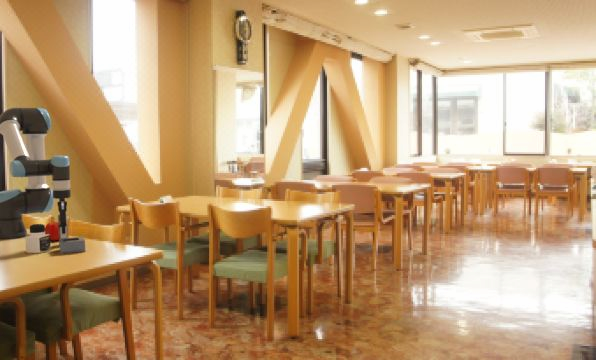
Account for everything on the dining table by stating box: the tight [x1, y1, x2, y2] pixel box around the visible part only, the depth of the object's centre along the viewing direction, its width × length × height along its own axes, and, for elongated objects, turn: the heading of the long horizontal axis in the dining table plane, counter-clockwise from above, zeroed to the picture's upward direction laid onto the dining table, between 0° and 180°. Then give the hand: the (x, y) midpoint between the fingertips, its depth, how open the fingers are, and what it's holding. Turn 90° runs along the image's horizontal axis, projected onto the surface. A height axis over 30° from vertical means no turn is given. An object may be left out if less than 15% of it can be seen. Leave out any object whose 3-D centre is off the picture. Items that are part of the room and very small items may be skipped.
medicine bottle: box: [24, 223, 51, 254], centre depth 241 cm, size 7×7×12 cm
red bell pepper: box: [44, 221, 59, 241], centre depth 267 cm, size 11×11×9 cm
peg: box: [57, 214, 69, 245], centre depth 254 cm, size 4×4×14 cm
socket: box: [58, 236, 86, 255], centre depth 242 cm, size 10×10×5 cm
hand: (63, 239), depth 254 cm, fingers closed on peg, 4 cm apart
